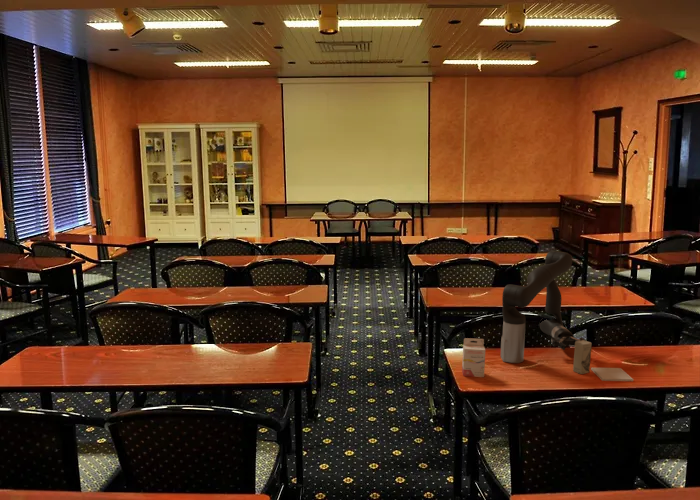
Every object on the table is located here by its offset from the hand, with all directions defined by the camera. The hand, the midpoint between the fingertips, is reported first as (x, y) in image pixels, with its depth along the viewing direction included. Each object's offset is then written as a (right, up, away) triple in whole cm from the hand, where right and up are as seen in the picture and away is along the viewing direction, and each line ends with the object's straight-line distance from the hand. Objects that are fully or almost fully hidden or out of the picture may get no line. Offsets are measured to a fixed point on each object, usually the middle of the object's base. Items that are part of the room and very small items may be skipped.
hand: (574, 347), depth 237 cm
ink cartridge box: (-46, -9, -11) cm, 48 cm away
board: (+10, -9, -12) cm, 18 cm away
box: (0, -9, -8) cm, 12 cm away
